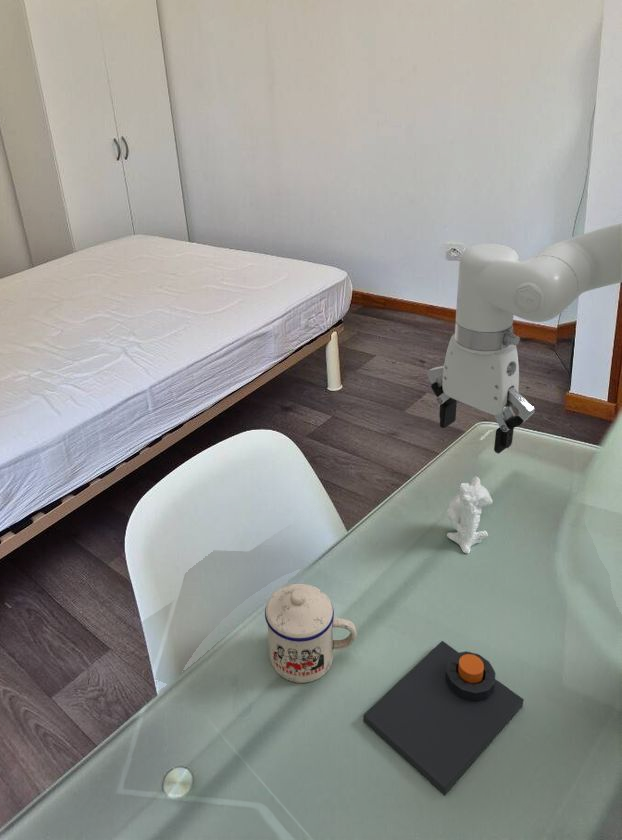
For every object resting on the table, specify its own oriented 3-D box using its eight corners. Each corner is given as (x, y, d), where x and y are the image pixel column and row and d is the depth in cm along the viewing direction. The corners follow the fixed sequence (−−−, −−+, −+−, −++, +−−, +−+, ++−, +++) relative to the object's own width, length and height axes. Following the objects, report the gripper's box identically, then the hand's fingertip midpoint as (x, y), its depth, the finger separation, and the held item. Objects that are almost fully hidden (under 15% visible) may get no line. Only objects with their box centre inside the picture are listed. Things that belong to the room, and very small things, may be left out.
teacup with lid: (264, 683, 91) (259, 620, 86) (272, 627, 99) (267, 566, 94) (356, 690, 89) (356, 626, 84) (356, 632, 97) (356, 571, 92)
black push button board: (443, 645, 94) (444, 630, 93) (524, 704, 86) (527, 688, 84) (363, 722, 85) (363, 706, 84) (444, 796, 77) (446, 779, 75)
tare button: (467, 659, 89) (468, 649, 88) (487, 674, 87) (488, 664, 86) (453, 672, 87) (454, 663, 87) (473, 688, 85) (474, 678, 85)
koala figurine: (477, 563, 107) (483, 502, 102) (435, 547, 111) (439, 488, 106) (493, 530, 113) (500, 471, 108) (453, 517, 117) (458, 459, 112)
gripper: (556, 342, 92) (541, 449, 99) (446, 308, 104) (440, 405, 111) (525, 362, 87) (512, 472, 95) (415, 324, 100) (411, 424, 107)
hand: (473, 436), depth 103 cm, fingers open, 9 cm apart
